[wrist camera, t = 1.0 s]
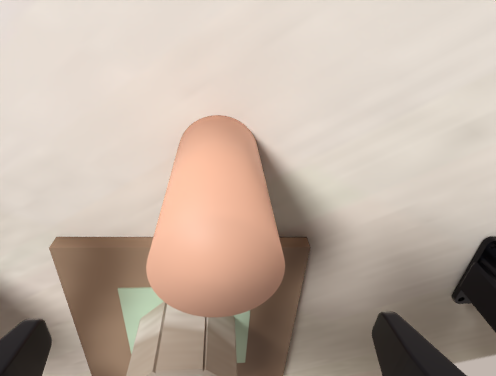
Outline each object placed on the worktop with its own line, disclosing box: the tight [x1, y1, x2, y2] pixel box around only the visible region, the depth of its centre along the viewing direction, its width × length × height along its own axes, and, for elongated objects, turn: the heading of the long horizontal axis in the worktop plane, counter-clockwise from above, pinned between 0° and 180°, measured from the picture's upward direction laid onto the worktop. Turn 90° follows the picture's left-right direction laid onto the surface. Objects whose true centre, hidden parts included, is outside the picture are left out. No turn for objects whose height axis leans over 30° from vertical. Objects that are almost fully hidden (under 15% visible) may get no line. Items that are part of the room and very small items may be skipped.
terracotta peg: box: [146, 115, 285, 317], centre depth 14 cm, size 4×4×9 cm
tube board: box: [49, 237, 310, 376], centre depth 22 cm, size 16×16×6 cm
